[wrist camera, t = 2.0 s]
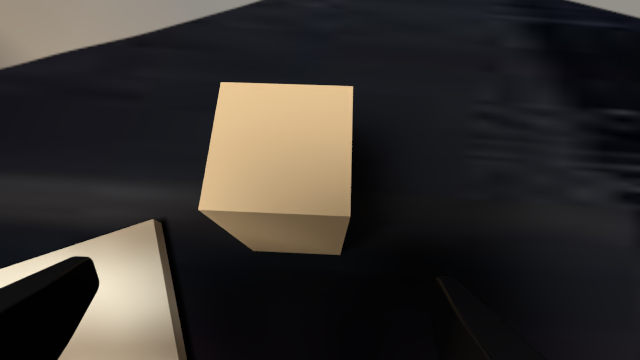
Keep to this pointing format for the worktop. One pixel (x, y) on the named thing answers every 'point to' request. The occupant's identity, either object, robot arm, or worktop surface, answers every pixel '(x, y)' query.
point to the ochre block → (281, 166)
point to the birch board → (121, 297)
